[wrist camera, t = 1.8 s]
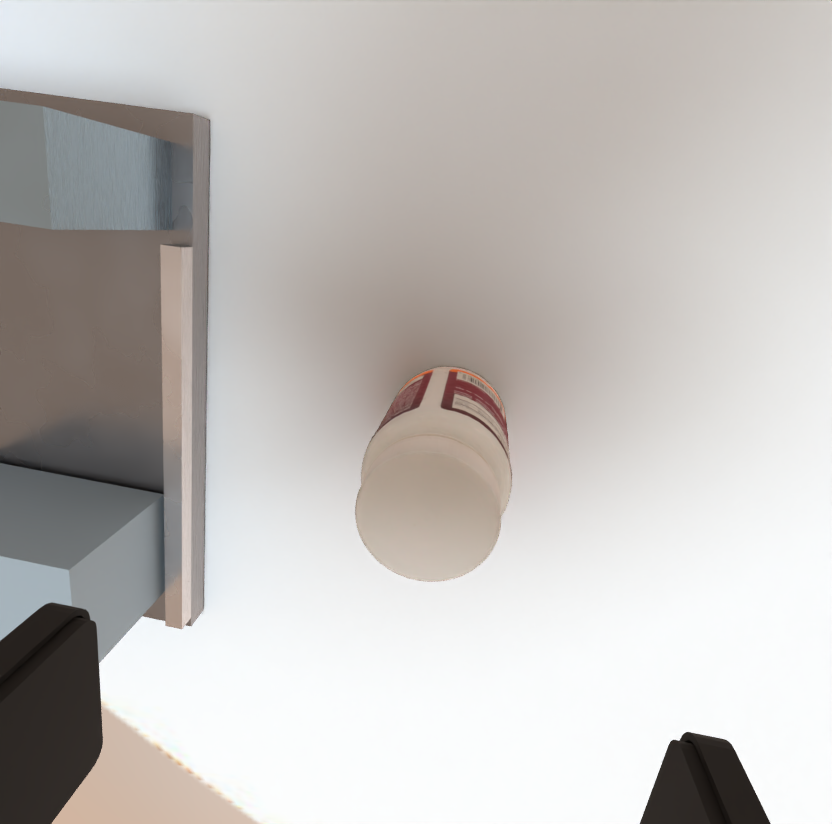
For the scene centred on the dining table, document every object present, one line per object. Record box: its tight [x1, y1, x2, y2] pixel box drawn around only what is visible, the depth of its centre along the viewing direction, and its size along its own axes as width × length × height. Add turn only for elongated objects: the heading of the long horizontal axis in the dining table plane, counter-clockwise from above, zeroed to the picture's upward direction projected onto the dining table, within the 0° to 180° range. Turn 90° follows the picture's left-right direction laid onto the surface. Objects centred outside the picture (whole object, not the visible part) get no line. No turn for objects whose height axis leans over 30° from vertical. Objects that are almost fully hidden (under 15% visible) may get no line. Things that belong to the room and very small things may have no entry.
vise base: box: [0, 88, 210, 629], centre depth 21 cm, size 22×11×7 cm, turn 172°
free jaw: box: [0, 463, 165, 663], centre depth 22 cm, size 5×9×6 cm, turn 82°
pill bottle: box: [355, 367, 512, 582], centre depth 19 cm, size 5×5×8 cm
